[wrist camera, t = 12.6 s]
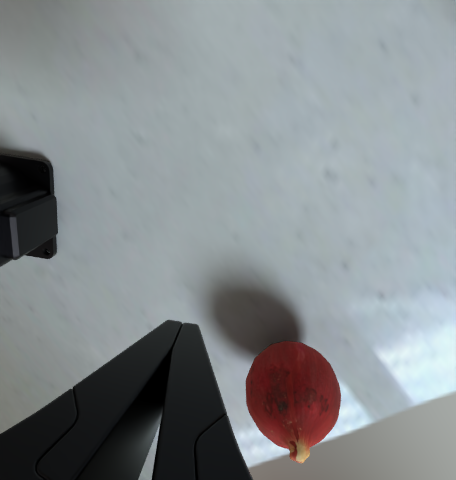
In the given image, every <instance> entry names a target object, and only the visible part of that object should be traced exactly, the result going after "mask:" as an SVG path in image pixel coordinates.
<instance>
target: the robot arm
mask: <svg viewBox="0 0 456 480" xmlns="http://www.w3.org/2000/svg"><path fill="white" fill-rule="evenodd" d="M41 166H44V167H45V170H46V171H45V172H43V171H42V169H41ZM57 234H58V224H57V201H56V197H55V196H54V178H53V167H52V165H51V164H50V163H49V162H48V161H45V160H40V159H33V158H27V157H21V156H14V155H8V154H1V153H0V267H1V266H3V265H4V264H6V263H8V262H9V261H11V260H12V259H13V260H17V259H19V258H21V257H22V256H24V255H27V256H33V257H39V258H45V259H50V258H52V257H53V256H55V254H56V253H57V244H56V235H57ZM46 249H48V250H49V251H50V253H48V252H47V251H46ZM160 421H161V423H160ZM159 424H160V429H159V436H158V442H157V449H156V455H155V462H154V468H153V475H152V480H253V479H252V476H251V474H250V472H249V470H248V468H247V465H246V463H245V461H244V459H243V456H242V454H241V452H240V449H239V447H238V444H237V441H236V439H235V436H234V433H233V430H232V427H231V424H230V421H229V418H228V416H227V412H226V409H225V406H224V403H223V400H222V397H221V394H220V391H219V387H218V384H217V381H216V378H215V375H214V372H213V369H212V366H211V363H210V359H209V356H208V353H207V350H206V347H205V344H204V341H203V338H202V335H201V331H200V328H199V326H198V325H197V324H191V323H183V324H182V322H179V321H173V320H167V321H165V322H164V323H162V324H161V325H160V326H158V327H157V328H155V329H154V330H153V331H151V332H150V333H148V334H147V335H145V336H144V337H143V338H141V339H140V340H138V341H137V342H136V343H134V344H133V345H131V346H130V347H129V348H127V349H126V350H124V351H123V352H122V353H120V354H119V355H117V356H116V357H114V358H113V359H112V360H110V361H109V362H107V363H106V364H105V365H103V366H102V367H100V368H99V369H98V370H96V371H95V372H93V373H92V374H91V375H89V376H88V377H86V378H85V379H83V380H82V381H81V382H79V383H78V384H76V385H75V386H74V387H73V389H69V390H68V391H66V392H65V393H64V394H62V395H61V396H59V397H58V398H56V399H55V400H53V401H52V402H51V403H49V404H48V405H46V406H45V407H43V408H42V409H40V410H39V411H37V412H36V413H34V414H32V415H31V416H29V417H28V418H26V419H24V420H23V421H21V422H19V423H18V424H16V425H15V426H13V427H11V428H10V429H8V430H6V431H5V432H3V433H1V434H0V480H138V478H139V476H140V473H141V471H142V468H143V465H144V463H145V460H146V458H147V455H148V452H149V450H150V447H151V445H152V442H153V439H154V437H155V434H156V432H157V429H158V427H159Z"/></svg>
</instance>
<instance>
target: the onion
mask: <svg viewBox="0 0 456 480" xmlns="http://www.w3.org/2000/svg"><path fill="white" fill-rule="evenodd" d="M340 402H341V393H340V387H339V383H338V381H337V378H336V375H335V373H334V371H333V369H332V367H331V365H330V363H329V362H328V361H327V360H326V359H325V358H324V357H323V356H322V355H321V354H320V353H319V352H318V351H316V350H315V349H313V348H311V347H309V346H307V345H305V344H303V343H299V342H291V341H283V342H279V343H275V344H271V345H270V346H268V347H267V348H266V349H265V350H264V351H263V352H261V353H260V354H259V355H258V356H257V357H256V358H255V359H254V361H253V363H252V366H251V368H250V370H249V373H248V376H247V378H246V403H247V407H248V410H249V413H250V415H251V417H252V418H253V420H254V422H255V423H256V425H257V427H258V428H259V430H260V431H261V432H262V433H263V434H264V436H266V437H267V438H268V439H270V440H271V441H272V442H273V443H275V444H276V445H278V446H280V447H283V448H287V449H289V450H290V459H291V460H293V461H296V462H298V463H303V462H304V461H305V459H306V458H307V457H309V455H310V450H309V448H310V447H312V446H313V445H315V444H317V443H319V442H320V441H321V440H323V439H324V438H325V436H326V435H327V434H328V433H329V432H330V431H331V430H332V428H333V427H334V425H335V424H336V421H337V419H338V415H339V409H340Z"/></svg>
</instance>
